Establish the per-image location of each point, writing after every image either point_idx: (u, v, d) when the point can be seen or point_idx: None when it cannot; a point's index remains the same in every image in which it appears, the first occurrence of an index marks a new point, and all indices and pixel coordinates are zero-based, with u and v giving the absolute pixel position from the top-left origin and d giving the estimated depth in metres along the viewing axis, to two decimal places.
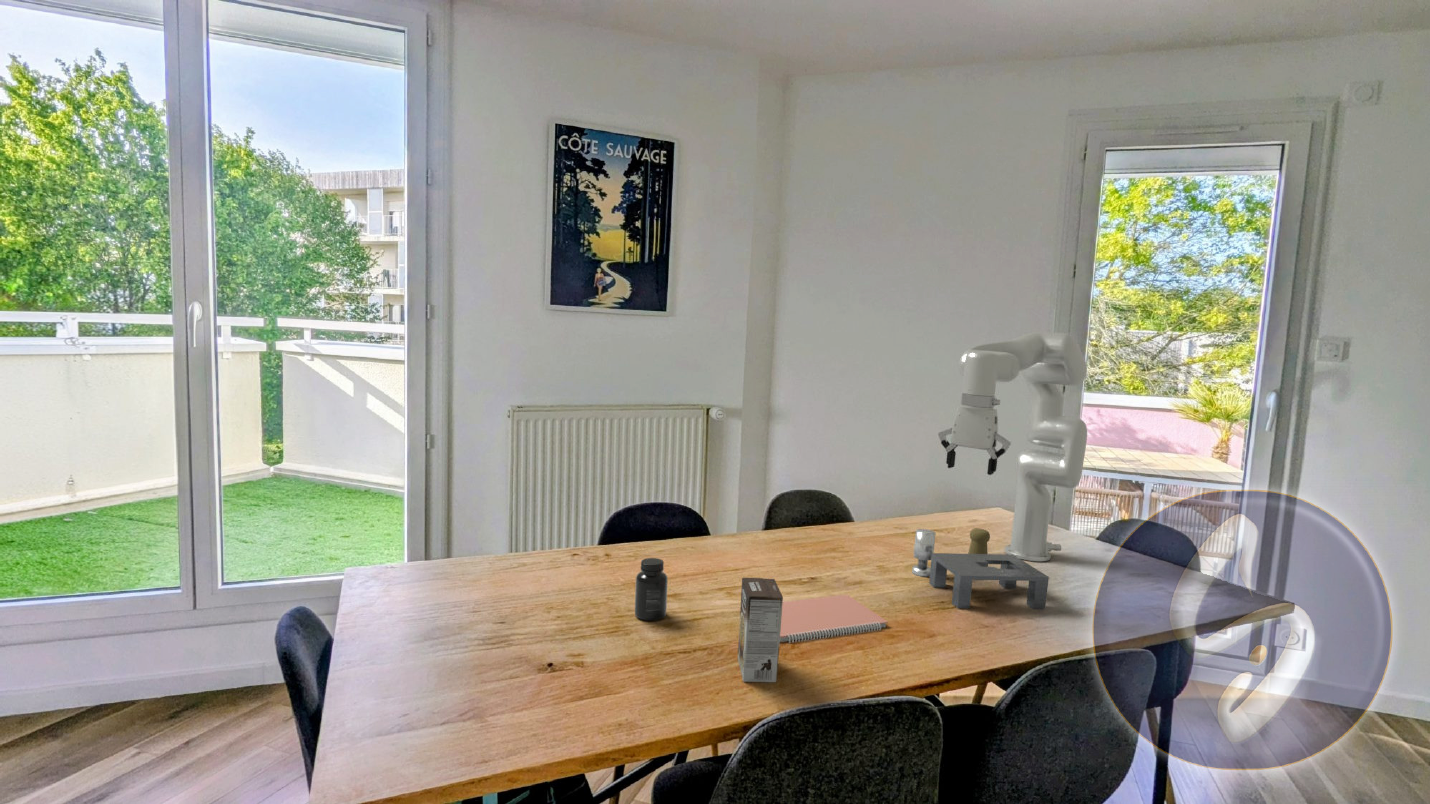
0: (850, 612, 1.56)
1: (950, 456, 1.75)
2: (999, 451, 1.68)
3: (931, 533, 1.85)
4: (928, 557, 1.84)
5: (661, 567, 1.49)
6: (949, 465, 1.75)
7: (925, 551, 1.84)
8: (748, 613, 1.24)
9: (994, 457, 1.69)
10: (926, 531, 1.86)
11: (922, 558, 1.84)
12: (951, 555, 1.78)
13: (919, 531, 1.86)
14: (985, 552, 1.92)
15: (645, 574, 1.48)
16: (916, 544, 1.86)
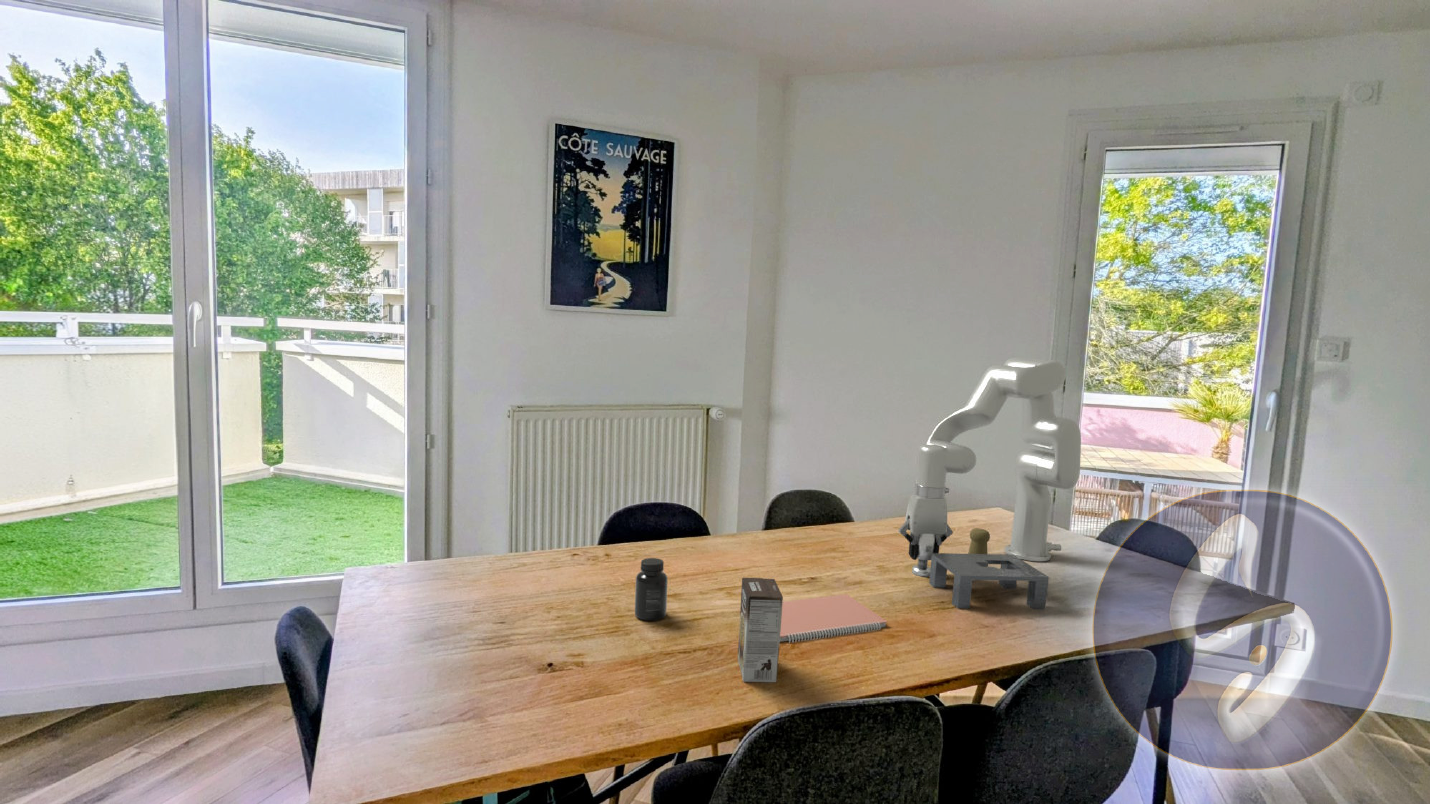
0: (850, 612, 1.56)
1: (916, 549, 1.85)
2: (942, 538, 1.86)
3: None
4: (928, 557, 1.84)
5: (661, 567, 1.49)
6: (915, 557, 1.85)
7: (925, 551, 1.84)
8: (748, 613, 1.24)
9: (939, 544, 1.86)
10: None
11: (922, 558, 1.84)
12: (951, 555, 1.78)
13: None
14: (985, 552, 1.92)
15: (645, 574, 1.48)
16: (916, 544, 1.86)
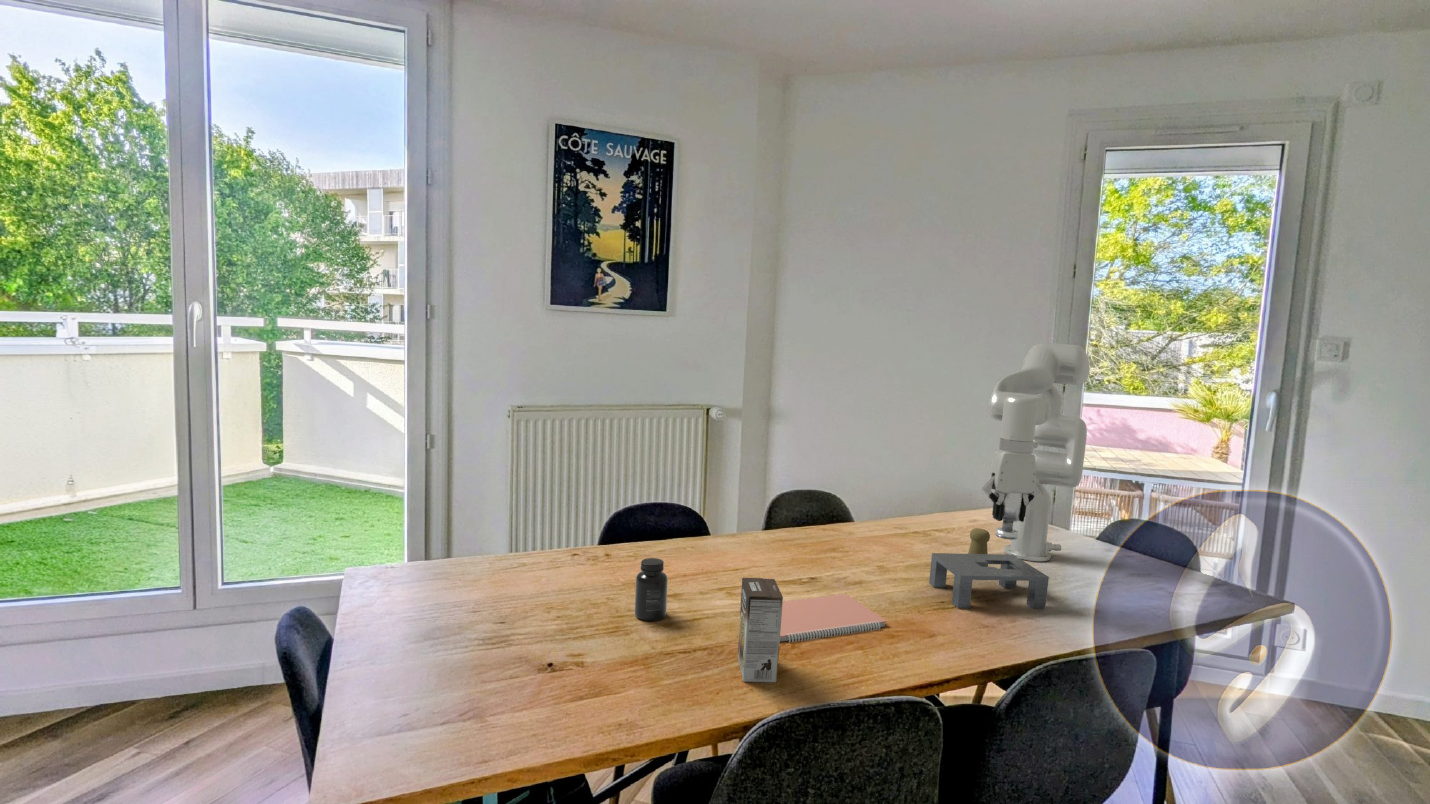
0: (849, 611, 1.56)
1: (1002, 509, 1.70)
2: (1030, 497, 1.71)
3: None
4: (1015, 517, 1.69)
5: (661, 567, 1.49)
6: (1001, 518, 1.70)
7: (1012, 511, 1.69)
8: (748, 613, 1.24)
9: (1026, 504, 1.71)
10: None
11: (1008, 519, 1.70)
12: (951, 555, 1.78)
13: None
14: (985, 552, 1.92)
15: (645, 574, 1.48)
16: (1001, 504, 1.71)
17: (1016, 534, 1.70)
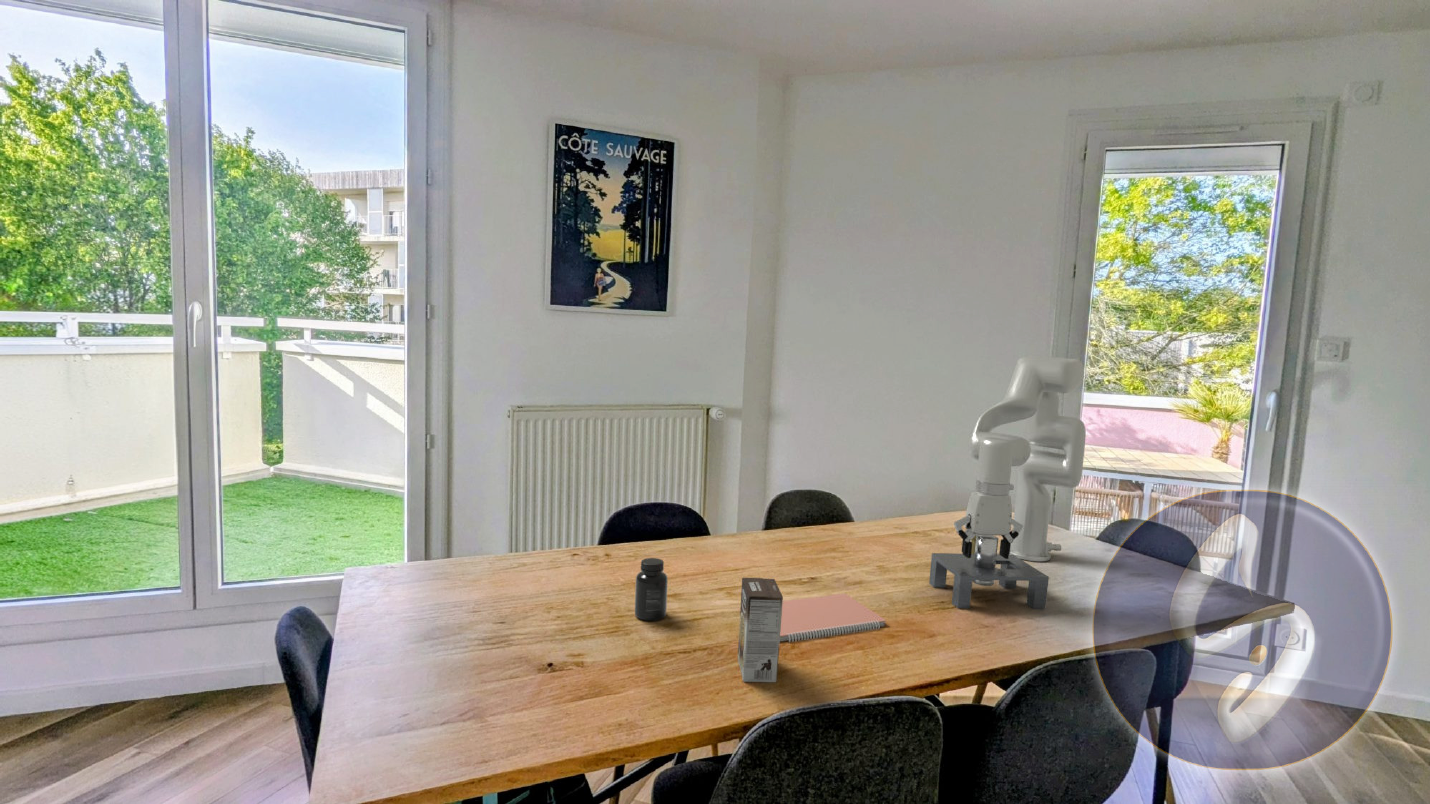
0: (849, 611, 1.56)
1: (971, 546, 1.70)
2: (1014, 534, 1.72)
3: (994, 538, 1.71)
4: (991, 564, 1.70)
5: (661, 567, 1.49)
6: (970, 555, 1.70)
7: (987, 558, 1.70)
8: (748, 613, 1.24)
9: (1011, 541, 1.71)
10: (987, 536, 1.72)
11: (984, 565, 1.70)
12: (951, 555, 1.78)
13: (980, 536, 1.72)
14: None
15: (645, 574, 1.48)
16: (977, 550, 1.72)
17: (992, 580, 1.71)
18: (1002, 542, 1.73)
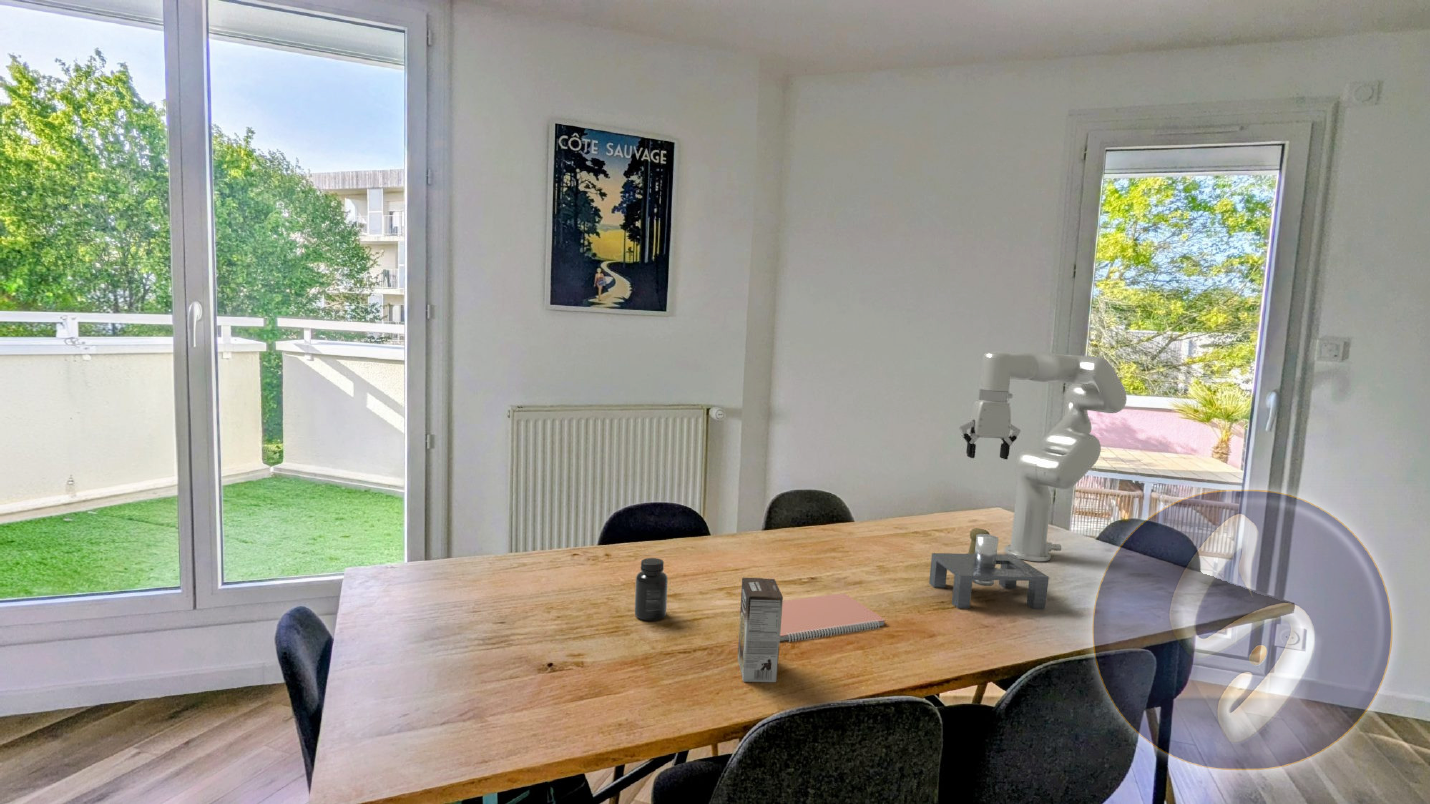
0: (848, 611, 1.56)
1: (974, 447, 1.93)
2: (1013, 438, 1.95)
3: (994, 538, 1.71)
4: (991, 564, 1.70)
5: (661, 567, 1.49)
6: (974, 455, 1.93)
7: (987, 558, 1.70)
8: (748, 613, 1.24)
9: (1010, 443, 1.94)
10: (987, 536, 1.72)
11: (984, 565, 1.70)
12: (951, 555, 1.78)
13: (980, 536, 1.72)
14: None
15: (645, 574, 1.48)
16: (977, 550, 1.72)
17: (992, 580, 1.71)
18: (1002, 445, 1.96)
